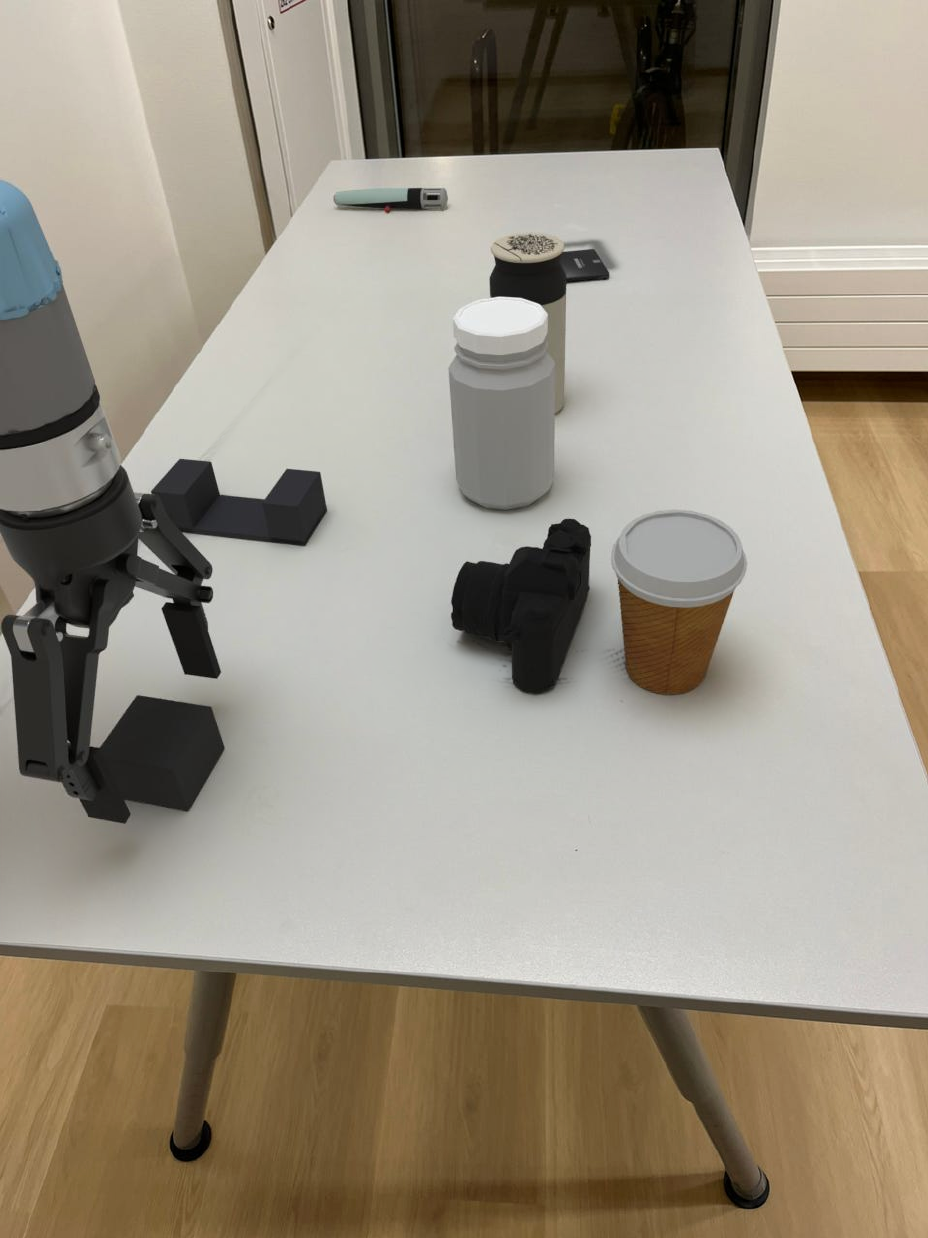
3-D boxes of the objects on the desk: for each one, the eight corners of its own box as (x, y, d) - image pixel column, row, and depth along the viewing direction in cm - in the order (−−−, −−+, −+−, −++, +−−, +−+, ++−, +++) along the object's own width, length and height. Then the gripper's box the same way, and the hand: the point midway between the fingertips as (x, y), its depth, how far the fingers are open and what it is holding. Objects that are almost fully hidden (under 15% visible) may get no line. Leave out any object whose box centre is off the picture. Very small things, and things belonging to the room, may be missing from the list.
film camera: (494, 567, 86) (490, 482, 80) (599, 585, 83) (604, 499, 77) (434, 681, 75) (425, 593, 69) (553, 706, 72) (554, 617, 66)
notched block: (162, 529, 93) (150, 491, 90) (190, 496, 98) (179, 458, 95) (305, 546, 90) (297, 506, 87) (327, 510, 94) (320, 471, 91)
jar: (456, 516, 92) (443, 340, 80) (457, 463, 99) (446, 295, 88) (557, 512, 92) (559, 335, 80) (551, 459, 99) (552, 289, 87)
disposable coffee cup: (638, 612, 80) (649, 492, 72) (747, 653, 76) (770, 530, 68) (582, 680, 74) (587, 558, 66) (695, 728, 70) (715, 603, 62)
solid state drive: (594, 253, 142) (594, 248, 141) (609, 278, 134) (610, 273, 134) (548, 257, 142) (548, 252, 141) (561, 282, 134) (561, 278, 134)
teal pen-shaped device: (328, 204, 161) (444, 203, 158) (332, 184, 163) (447, 182, 159) (333, 218, 164) (447, 218, 161) (337, 198, 166) (450, 197, 162)
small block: (112, 797, 68) (93, 756, 65) (153, 736, 72) (136, 694, 69) (188, 811, 67) (172, 770, 64) (225, 748, 71) (211, 706, 68)
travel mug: (547, 383, 112) (547, 226, 100) (575, 413, 106) (580, 250, 94) (483, 397, 110) (477, 239, 98) (509, 428, 104) (505, 264, 93)
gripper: (-25, 637, 43) (116, 901, 57) (215, 383, 61) (277, 630, 75) (-160, 618, 45) (8, 878, 59) (112, 376, 63) (192, 619, 77)
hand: (159, 739), depth 67 cm, fingers open, 13 cm apart
